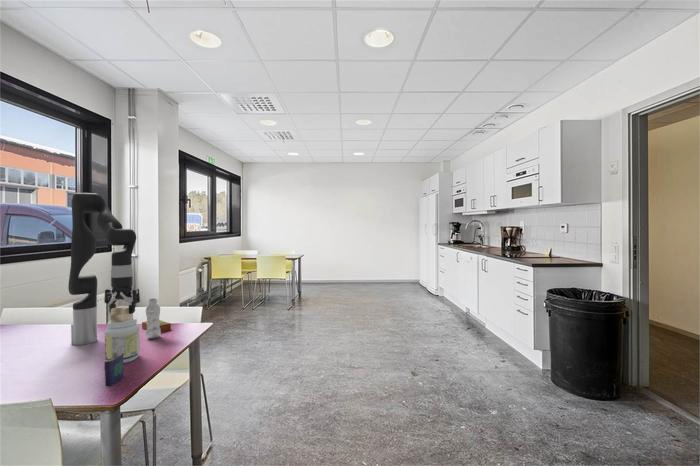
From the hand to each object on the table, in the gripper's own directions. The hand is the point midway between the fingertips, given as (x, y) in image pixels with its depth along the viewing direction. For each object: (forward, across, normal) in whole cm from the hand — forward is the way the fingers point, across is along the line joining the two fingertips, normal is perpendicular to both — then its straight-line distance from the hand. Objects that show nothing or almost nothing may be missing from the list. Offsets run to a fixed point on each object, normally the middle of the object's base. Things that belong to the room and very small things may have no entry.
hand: (122, 313), depth 138 cm
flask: (+20, +13, -19) cm, 31 cm away
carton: (+20, -15, +41) cm, 48 cm away
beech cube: (+3, 0, 0) cm, 3 cm away
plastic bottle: (+20, -6, +27) cm, 34 cm away
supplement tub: (+20, 0, 0) cm, 20 cm away
